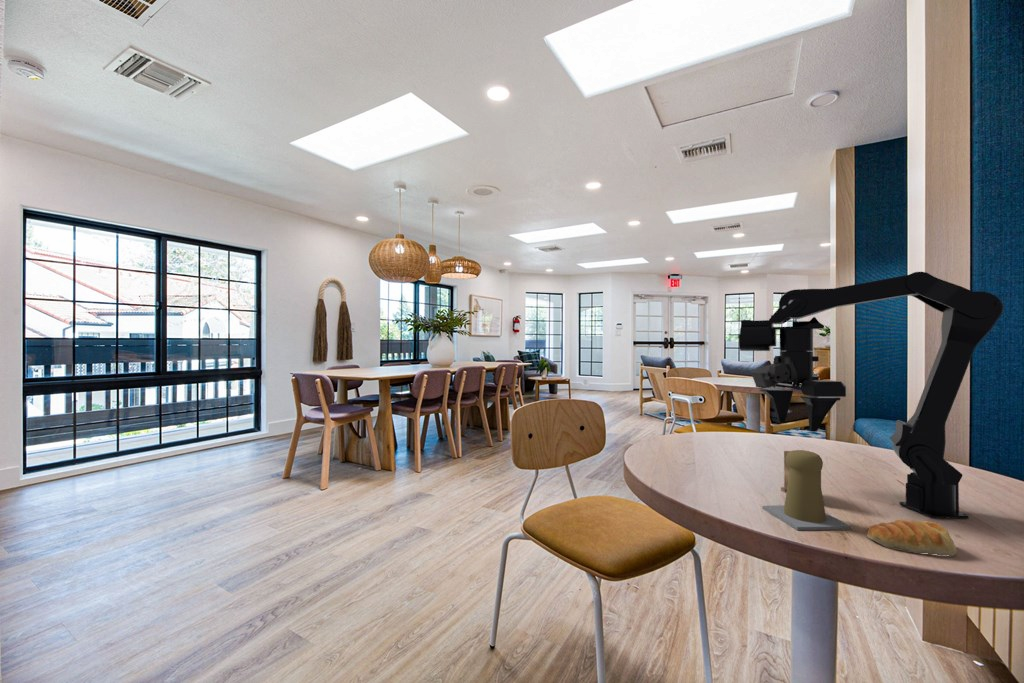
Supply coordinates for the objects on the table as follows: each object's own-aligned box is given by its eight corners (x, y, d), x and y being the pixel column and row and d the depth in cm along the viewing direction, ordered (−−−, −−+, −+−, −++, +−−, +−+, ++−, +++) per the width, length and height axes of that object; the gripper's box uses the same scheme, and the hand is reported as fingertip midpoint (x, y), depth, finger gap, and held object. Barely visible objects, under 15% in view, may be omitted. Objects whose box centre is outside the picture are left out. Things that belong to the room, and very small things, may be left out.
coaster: (810, 507, 77) (810, 505, 77) (851, 529, 68) (851, 526, 68) (762, 508, 76) (762, 505, 76) (797, 530, 67) (797, 527, 67)
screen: (795, 489, 86) (795, 450, 86) (825, 504, 78) (825, 461, 78) (780, 489, 86) (780, 451, 86) (809, 504, 78) (808, 461, 78)
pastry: (886, 554, 60) (885, 527, 60) (856, 534, 67) (856, 509, 67) (963, 560, 58) (962, 533, 58) (924, 538, 65) (924, 514, 65)
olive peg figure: (826, 525, 68) (825, 458, 68) (781, 516, 71) (781, 452, 72) (826, 513, 73) (826, 450, 73) (785, 505, 76) (784, 445, 76)
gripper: (732, 350, 96) (733, 419, 95) (789, 352, 77) (789, 436, 77) (780, 350, 96) (780, 418, 96) (848, 352, 77) (848, 436, 77)
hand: (796, 426), depth 86 cm, fingers open, 9 cm apart
